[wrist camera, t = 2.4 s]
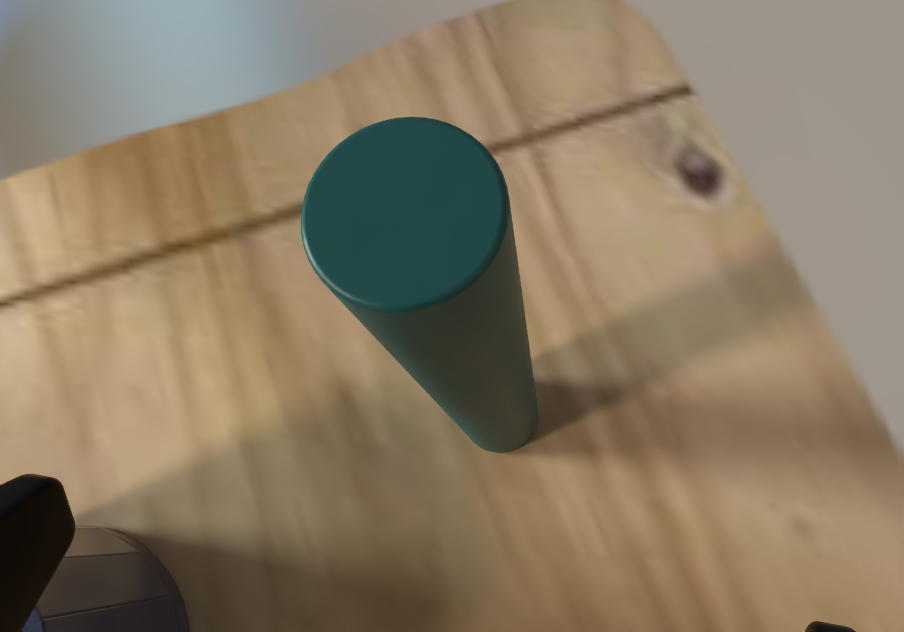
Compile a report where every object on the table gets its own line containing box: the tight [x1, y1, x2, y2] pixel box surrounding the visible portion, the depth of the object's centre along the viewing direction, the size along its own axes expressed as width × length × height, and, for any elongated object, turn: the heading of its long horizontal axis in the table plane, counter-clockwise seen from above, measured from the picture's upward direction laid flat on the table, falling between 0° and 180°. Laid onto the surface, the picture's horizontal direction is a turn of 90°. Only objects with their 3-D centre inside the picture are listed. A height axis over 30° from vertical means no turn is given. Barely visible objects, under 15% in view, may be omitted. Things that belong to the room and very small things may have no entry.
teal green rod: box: [301, 117, 538, 453], centre depth 13 cm, size 2×2×13 cm
